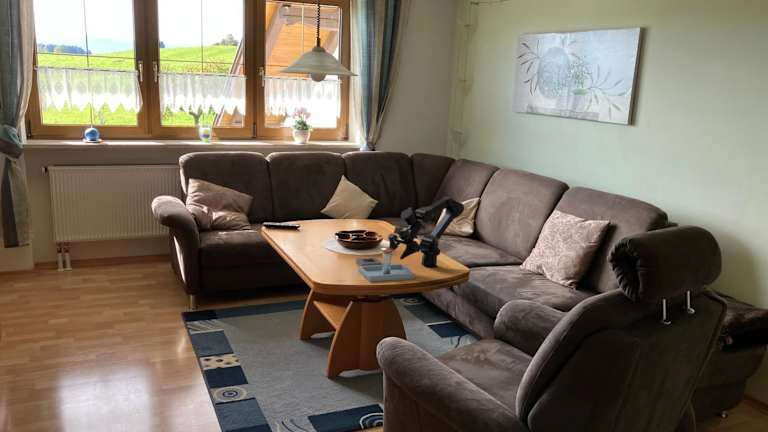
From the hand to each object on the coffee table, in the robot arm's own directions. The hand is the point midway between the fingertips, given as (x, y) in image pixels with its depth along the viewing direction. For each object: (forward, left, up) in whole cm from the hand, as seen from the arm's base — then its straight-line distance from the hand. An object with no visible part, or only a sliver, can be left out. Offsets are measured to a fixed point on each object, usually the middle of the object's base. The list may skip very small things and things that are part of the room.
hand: (394, 256), depth 292 cm
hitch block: (+7, -15, -8) cm, 19 cm away
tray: (+4, +2, -8) cm, 9 cm away
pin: (+4, +2, -8) cm, 9 cm away
